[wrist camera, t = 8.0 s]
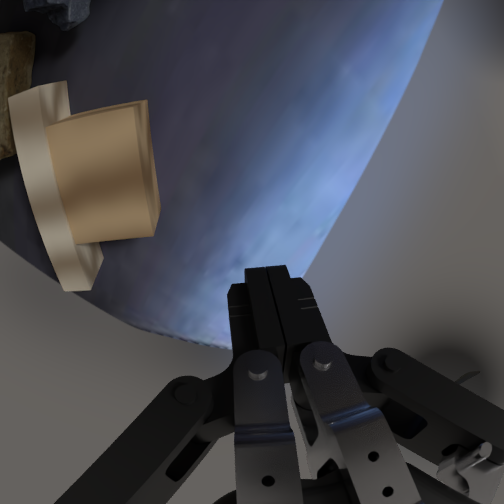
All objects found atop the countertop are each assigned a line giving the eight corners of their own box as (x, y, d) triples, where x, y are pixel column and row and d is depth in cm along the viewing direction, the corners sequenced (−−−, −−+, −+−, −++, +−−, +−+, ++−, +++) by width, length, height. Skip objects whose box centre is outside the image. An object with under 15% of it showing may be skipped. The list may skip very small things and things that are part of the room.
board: (38, 89, 18) (7, 98, 14) (66, 80, 18) (38, 86, 14) (79, 260, 28) (64, 291, 24) (103, 258, 28) (90, 290, 24)
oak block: (72, 114, 20) (45, 127, 16) (147, 99, 21) (133, 106, 17) (93, 215, 26) (75, 244, 22) (161, 207, 27) (153, 236, 23)
